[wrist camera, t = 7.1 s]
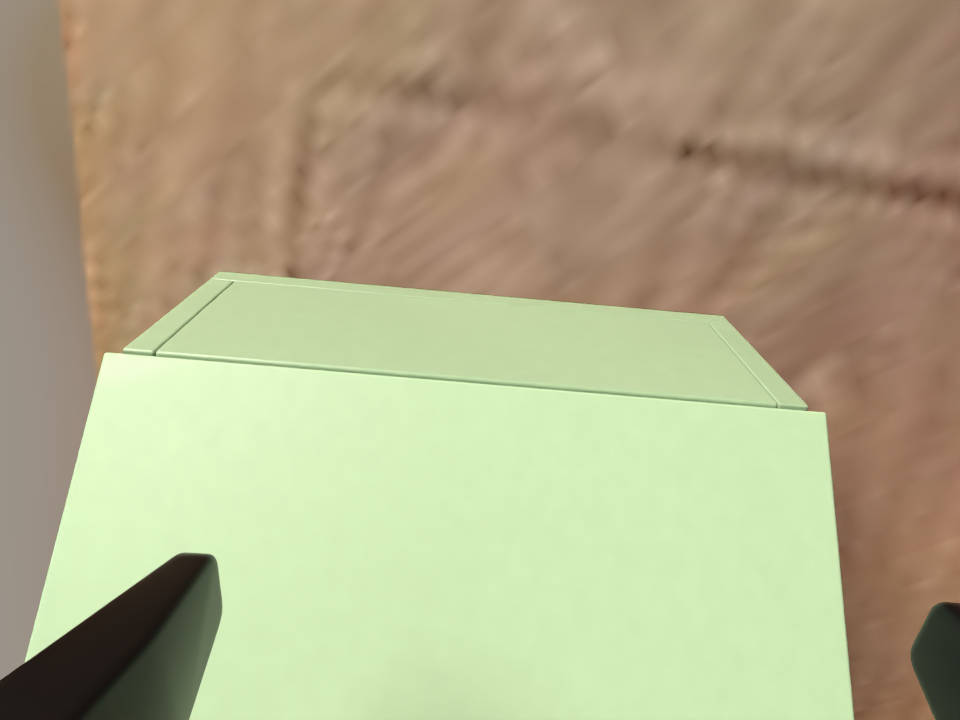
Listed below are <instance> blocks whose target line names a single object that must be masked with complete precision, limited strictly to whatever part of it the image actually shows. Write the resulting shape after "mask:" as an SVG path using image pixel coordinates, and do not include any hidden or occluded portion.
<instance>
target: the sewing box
mask: <svg viewBox="0 0 960 720" xmlns="http://www.w3.org/2000/svg"><path fill="white" fill-rule="evenodd" d="M123 352H124V354H132V355H144V356H156V357H168V358H180V359H192V360H204V361H216V362H228V363H240V364H252V365H263V366H275V367H287V368H299V369H311V370H323V371H335V372H347V373H359V374H371V375H383V376H395V377H407V378H419V379H431V380H443V381H455V382H467V383H479V384H490V385H502V386H514V387H526V388H538V389H550V390H562V391H574V392H586V393H598V394H610V395H622V396H634V397H646V398H658V399H670V400H682V401H694V402H705V403H717V404H729V405H741V406H753V407H765V408H777V409H789V410H801V411H807V410H808V405H807V404H806V403H805V402H804V401H803V400H802V399H801V398H800V397H799V396H798V395H797V394H796V393H795V392H794V390H793V389H792V388H791V387H790V386H789V385H788V384H787V383H786V382H785V381H784V380H783V379H782V378H781V377H780V376H779V375H778V374H777V372H776V371H775V370H774V369H773V368H772V367H771V366H770V365H769V364H768V363H767V362H766V361H765V360H764V359H763V358H762V357H761V355H760V354H759V353H758V352H757V351H756V350H755V349H754V348H753V347H752V346H751V345H750V344H749V343H748V342H747V341H746V340H745V338H744V337H743V336H742V335H741V334H740V333H739V332H738V331H737V330H736V329H735V328H734V327H733V326H732V325H731V324H730V323H729V322H728V320H727V319H726V318H725V317H724V316H716V315H704V314H693V313H682V312H671V311H659V310H648V309H637V308H625V307H614V306H603V305H592V304H580V303H569V302H558V301H547V300H535V299H524V298H513V297H501V296H490V295H479V294H468V293H456V292H445V291H434V290H422V289H411V288H400V287H389V286H377V285H366V284H355V283H343V282H332V281H321V280H310V279H298V278H287V277H276V276H264V275H253V274H242V273H231V272H218V273H217V274H216V275H215V276H213V277H212V278H211V279H210V280H209V281H207V282H206V283H205V284H204V285H202V286H201V287H200V288H199V289H197V290H196V291H195V292H194V293H192V294H191V295H190V296H189V297H187V298H186V299H185V300H184V301H182V302H181V303H180V304H179V305H177V306H176V307H175V308H174V309H172V310H171V311H170V312H169V313H168V314H166V315H165V316H164V317H163V318H161V319H160V320H159V321H158V322H156V323H155V324H154V325H153V326H151V327H150V328H149V329H148V330H146V331H145V332H144V333H143V334H141V335H140V336H139V337H138V338H136V339H135V340H134V341H133V342H131V343H130V344H129V345H128V346H126V347H125V348H124V350H123Z"/></svg>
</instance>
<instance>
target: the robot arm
mask: <svg viewBox="0 0 960 720" xmlns="http://www.w3.org/2000/svg"><path fill="white" fill-rule="evenodd" d="M222 606H223V605H222V595H221V587H220V579H219V570H218V563H217V560H216V558H215V557H214V556H213V555H211V554H204V553H188V552H184V553H179V554H177V555H175V556H174V557H172V558H171V559H169V560H168V561H167V562H165V563H164V564H162V565H161V566H160V567H158V568H157V569H155V570H154V571H153V572H151V573H150V574H148V575H147V576H146V577H144V578H143V579H141V580H140V581H139V582H137V583H136V584H134V585H133V586H132V587H130V588H129V589H127V590H126V591H125V592H123V593H122V594H120V595H119V596H118V597H116V598H115V599H113V600H112V601H111V602H109V603H108V604H106V605H105V606H104V607H102V608H101V609H99V610H98V611H97V612H95V613H94V614H92V615H91V616H90V617H88V618H87V619H85V620H84V621H83V622H81V623H80V624H78V625H77V626H76V627H74V628H73V629H71V630H70V631H69V632H67V633H66V634H64V635H63V636H62V637H60V638H59V639H57V640H56V641H55V642H53V643H52V644H50V645H49V646H48V647H46V648H45V649H43V650H42V651H41V652H39V653H38V654H36V655H35V656H34V657H32V658H31V659H30V660H28V661H27V662H25V663H24V664H23V665H21V666H20V667H18V668H17V669H16V670H14V671H13V672H11V673H10V674H9V675H7V676H6V677H4V678H3V679H2V680H0V720H189V719H190V715H191V712H192V709H193V706H194V703H195V700H196V697H197V694H198V690H199V687H200V684H201V681H202V678H203V675H204V672H205V669H206V666H207V662H208V659H209V656H210V653H211V650H212V647H213V644H214V641H215V637H216V634H217V631H218V628H219V625H220V621H221V616H222ZM911 661H912V666H913V668H914V671H915V673H916V676H917V678H918V680H919V683H920V685H921V687H922V690H923V692H924V694H925V697H926V699H927V701H928V704H929V706H930V708H931V711H932V713H933V716H934V718H935V720H960V603H949V602H942V603H938V604H936V605H935V606H934V607H933V608H932V609H931V611H930V612H929V614H928V616H927V618H926V620H925V622H924V624H923V626H922V628H921V630H920V632H919V633H918V635H917V637H916V639H915V641H914V643H913V645H912V649H911Z"/></svg>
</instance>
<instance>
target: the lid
mask: <svg viewBox="0 0 960 720" xmlns="http://www.w3.org/2000/svg"><path fill="white" fill-rule="evenodd" d="M184 552H188V553H204V554H211V555H213V556H214V557H215V558H216V560H217V563H218V570H219V579H220V587H221V595H222V605H223V606H222V616H221V621H220V625H219V628H218V631H217V634H216V637H215V641H214V644H213V647H212V650H211V653H210V656H209V659H208V662H207V666H206V669H205V672H204V675H203V678H202V681H201V684H200V687H199V690H198V694H197V697H196V700H195V703H194V706H193V709H192V712H191V715H190V719H189V720H854V710H853V700H852V689H851V678H850V667H849V656H848V645H847V635H846V624H845V613H844V602H843V591H842V580H841V570H840V559H839V548H838V537H837V526H836V515H835V504H834V494H833V483H832V472H831V461H830V450H829V439H828V429H827V418H826V413H823V412H813V411H801V410H789V409H777V408H765V407H753V406H741V405H729V404H717V403H705V402H694V401H682V400H670V399H658V398H646V397H634V396H622V395H610V394H598V393H586V392H574V391H562V390H550V389H538V388H526V387H514V386H502V385H490V384H479V383H467V382H455V381H443V380H431V379H419V378H407V377H395V376H383V375H371V374H359V373H347V372H335V371H323V370H311V369H299V368H287V367H275V366H263V365H252V364H240V363H228V362H216V361H204V360H192V359H180V358H168V357H156V356H144V355H132V354H120V353H105V354H104V357H103V361H102V365H101V369H100V373H99V376H98V380H97V384H96V388H95V392H94V396H93V400H92V404H91V407H90V411H89V415H88V419H87V423H86V427H85V431H84V435H83V439H82V442H81V446H80V450H79V454H78V458H77V462H76V466H75V470H74V474H73V477H72V481H71V485H70V489H69V493H68V497H67V500H66V504H65V508H64V512H63V516H62V520H61V524H60V528H59V532H58V535H57V539H56V543H55V547H54V551H53V555H52V559H51V563H50V566H49V571H48V574H47V578H46V582H45V586H44V590H43V594H42V598H41V601H40V605H39V609H38V613H37V617H36V621H35V625H34V628H33V633H32V636H31V640H30V644H29V648H28V652H27V656H26V660H25V662H27V661H28V660H30V659H31V658H32V657H34V656H35V655H36V654H38V653H39V652H41V651H42V650H43V649H45V648H46V647H48V646H49V645H50V644H52V643H53V642H55V641H56V640H57V639H59V638H60V637H62V636H63V635H64V634H66V633H67V632H69V631H70V630H71V629H73V628H74V627H76V626H77V625H78V624H80V623H81V622H83V621H84V620H85V619H87V618H88V617H90V616H91V615H92V614H94V613H95V612H97V611H98V610H99V609H101V608H102V607H104V606H105V605H106V604H108V603H109V602H111V601H112V600H113V599H115V598H116V597H118V596H119V595H120V594H122V593H123V592H125V591H126V590H127V589H129V588H130V587H132V586H133V585H134V584H136V583H137V582H139V581H140V580H141V579H143V578H144V577H146V576H147V575H148V574H150V573H151V572H153V571H154V570H155V569H157V568H158V567H160V566H161V565H162V564H164V563H165V562H167V561H168V560H169V559H171V558H172V557H174V556H175V555H177V554H179V553H184Z"/></svg>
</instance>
